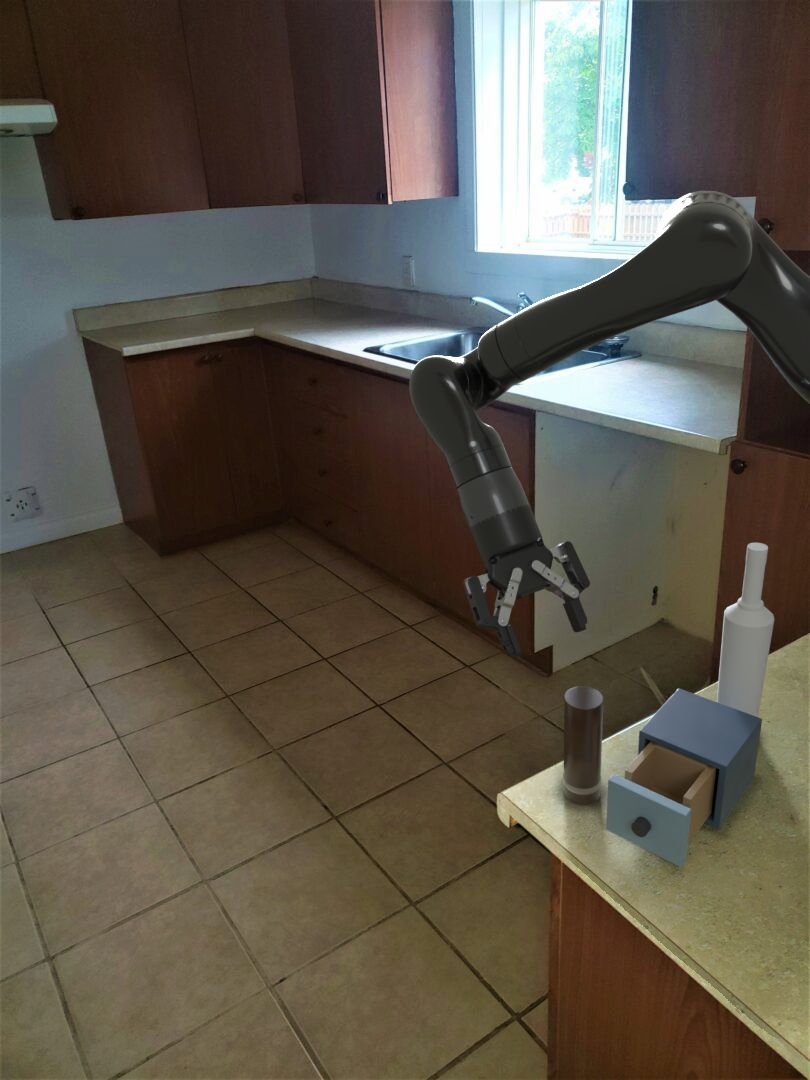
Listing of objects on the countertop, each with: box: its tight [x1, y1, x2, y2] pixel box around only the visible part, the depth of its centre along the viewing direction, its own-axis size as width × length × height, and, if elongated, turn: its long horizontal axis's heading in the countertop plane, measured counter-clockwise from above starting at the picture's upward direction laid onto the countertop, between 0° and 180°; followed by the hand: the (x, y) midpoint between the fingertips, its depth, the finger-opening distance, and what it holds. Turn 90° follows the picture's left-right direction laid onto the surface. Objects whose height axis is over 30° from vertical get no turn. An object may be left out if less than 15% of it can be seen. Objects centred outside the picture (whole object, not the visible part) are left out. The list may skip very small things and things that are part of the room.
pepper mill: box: [562, 685, 604, 806], centre depth 88 cm, size 4×4×13 cm
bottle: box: [716, 542, 775, 718], centre depth 92 cm, size 5×5×25 cm
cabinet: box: [637, 687, 763, 831], centre depth 89 cm, size 9×9×8 cm
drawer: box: [605, 741, 716, 868], centre depth 83 cm, size 10×8×7 cm
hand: (549, 643), depth 94 cm, fingers open, 8 cm apart
